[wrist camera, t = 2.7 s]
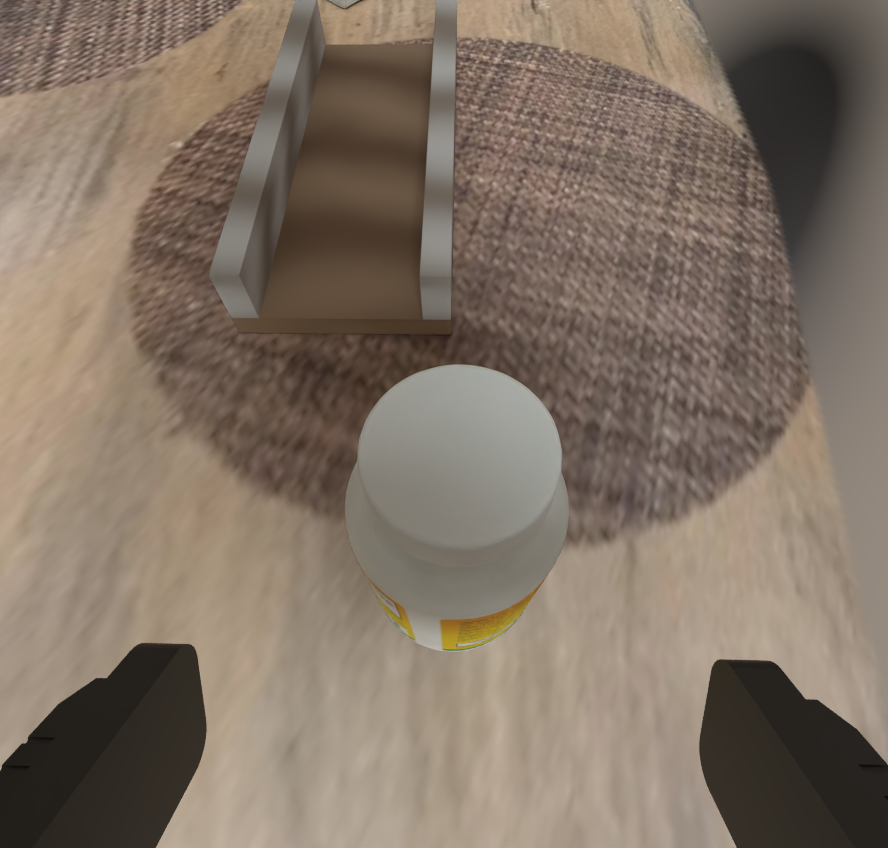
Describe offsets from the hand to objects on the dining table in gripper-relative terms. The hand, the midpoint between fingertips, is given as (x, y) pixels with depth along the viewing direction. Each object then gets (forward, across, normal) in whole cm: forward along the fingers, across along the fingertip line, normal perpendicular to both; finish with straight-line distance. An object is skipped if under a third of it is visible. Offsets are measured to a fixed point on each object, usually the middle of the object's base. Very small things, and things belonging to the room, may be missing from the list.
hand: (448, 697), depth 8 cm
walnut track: (+25, +5, -12) cm, 28 cm away
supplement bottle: (+10, 0, +4) cm, 11 cm away
